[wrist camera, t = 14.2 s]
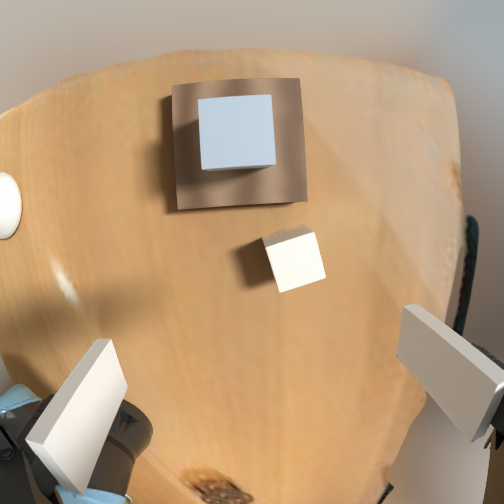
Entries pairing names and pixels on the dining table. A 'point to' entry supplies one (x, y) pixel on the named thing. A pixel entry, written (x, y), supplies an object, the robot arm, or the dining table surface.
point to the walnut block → (240, 180)
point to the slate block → (236, 132)
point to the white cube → (294, 257)
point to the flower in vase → (9, 205)
